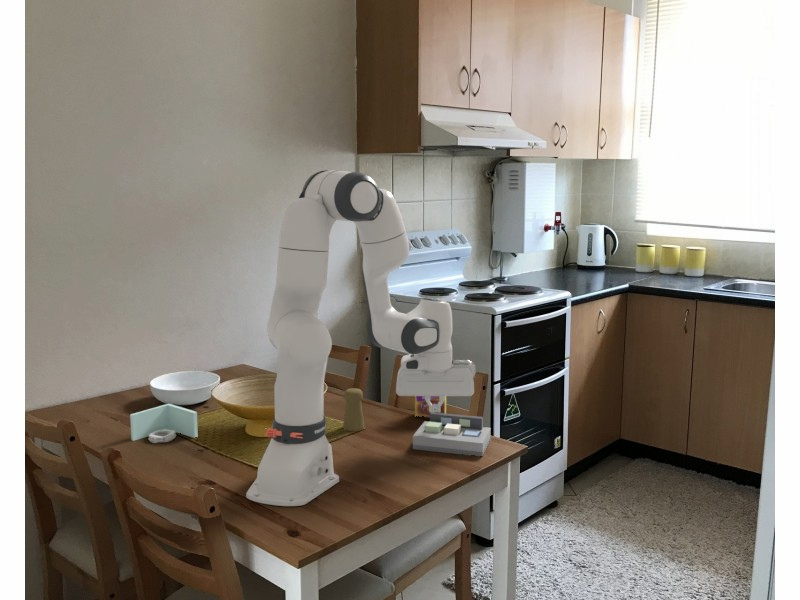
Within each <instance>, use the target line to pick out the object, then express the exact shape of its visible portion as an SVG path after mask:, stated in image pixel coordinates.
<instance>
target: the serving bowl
mask: <svg viewBox="0 0 800 600" xmlns="http://www.w3.org/2000/svg"><path fill="white" fill-rule="evenodd" d="M220 382H221V377H220V375H219V374H217V373H214V372H211V371H210V372H209V371H201V370H190V371H189V370H188V371H187V370H185V371H184V370H183V371H177V372H169V373H165V374H162V375H158V376H157V377H154V378H153V379H152V380H150V382H149V388H150V392H151V393H152V395H153V397H154V398H156V399H157V400H158V401H159V402H161V403H164V404H172V405H175V406H191V405H195V404H199V403H202V402H204V401H208V400H209V399H210V398H212V397H211V390H212V389H213V388H214V387H215V386H217V385H218V384H219V385H220Z"/></svg>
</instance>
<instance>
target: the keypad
mask: <svg viewBox="0 0 800 600" xmlns="http://www.w3.org/2000/svg"><path fill="white" fill-rule="evenodd" d="M428 422H438V423H442V431H441V433H430V432H425V426H426V424H427V423H428ZM447 423H448V424H458V425H461V433H460V435H450V434H444V427H445V426H446V425H447ZM491 429H492V428H491V427H486V426H485V427H484V417H483V416H476V415H466V414H465V415H464V414H457V413H456V414H454V413H447V412H446V413H436V412H431V413H430V418H429V421H426V420H424V421H423V422H422V424H420V426H419V427H418V429H417V430H416V431H415V432H414V434H413V435H412V449H413V450H417V451H418V450H419V451H427V452H428V451H429V452H435V453H436V452H437V453H445V454H455V455H462V454H463V456H471V455H475V456H474V457H480V456H483V457H484V455H483V454H485V453H486V451H485V450H487V449H488V447H487V446H489V444H490V442H491V439H492V438H491V437H492V436H491V433H492V432H491ZM465 430H475V431H480V436H479V437H469V436H463V434H464V432H465ZM489 441H490V442H489ZM486 448H487V449H486ZM484 452H485V453H484Z"/></svg>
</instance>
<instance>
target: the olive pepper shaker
mask: <svg viewBox="0 0 800 600" xmlns="http://www.w3.org/2000/svg"><path fill="white" fill-rule="evenodd" d="M363 393H364V392H363V391H362V389H360V388H355V387H353V388H352V387H350V388H347V389H346V390H345V391H344V393H343V394H344V396H343V398H344V400H345V408H344V409H345V410H344V418H343V424H342V429H343V428H344V429H345V430H344V429H343V430H344V431H347V430H348V431H347V432H359V431H363V430H365V420H364V414H363V405H362V400H363V397H364V394H363Z"/></svg>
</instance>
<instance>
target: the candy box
mask: <svg viewBox="0 0 800 600" xmlns="http://www.w3.org/2000/svg"><path fill="white" fill-rule="evenodd" d="M439 401H440V399H439V396H431V399H430V402H431V404H438V403H439ZM430 413H431V412H429V405H428V404H427V402H426V400H425V396H414V417H416V416H417V417H418V416H419V417H418V418H429V419H430ZM436 413H446V414H447V396H445V401H444V402H443V404H442V405H441V412H436ZM422 416H424V417H422ZM417 417H416V418H417Z"/></svg>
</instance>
